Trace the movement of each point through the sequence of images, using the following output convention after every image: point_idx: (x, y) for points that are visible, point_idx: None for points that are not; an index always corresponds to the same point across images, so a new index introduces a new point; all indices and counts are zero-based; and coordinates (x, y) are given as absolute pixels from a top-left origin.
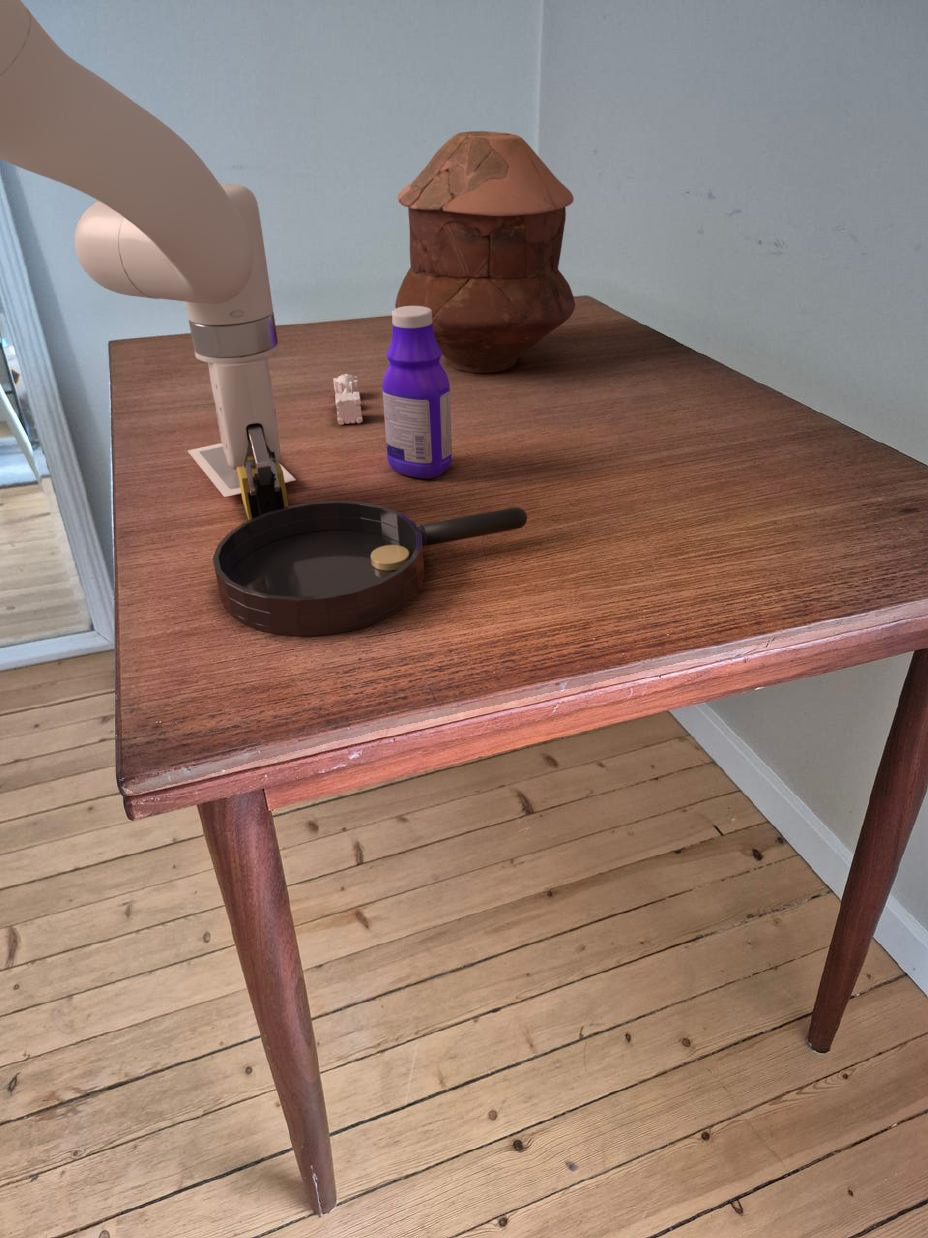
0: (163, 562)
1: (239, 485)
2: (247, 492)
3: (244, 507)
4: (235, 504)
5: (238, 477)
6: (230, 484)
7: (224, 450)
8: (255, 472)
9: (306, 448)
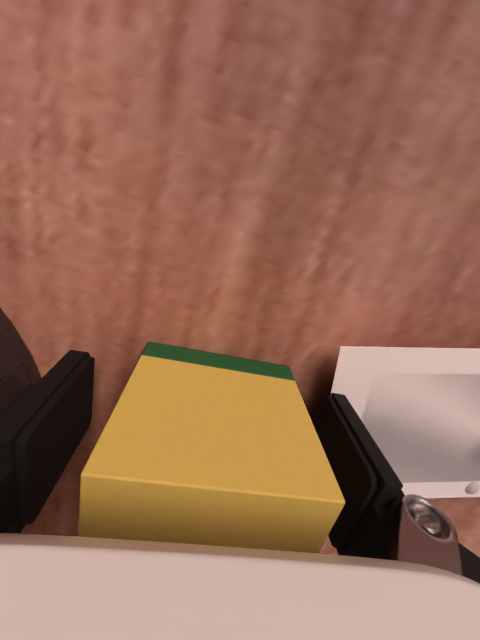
0: (51, 9)
1: (380, 398)
2: (5, 441)
3: (262, 369)
4: (327, 355)
5: (309, 430)
6: (405, 382)
7: (120, 630)
8: (125, 527)
9: (467, 536)
